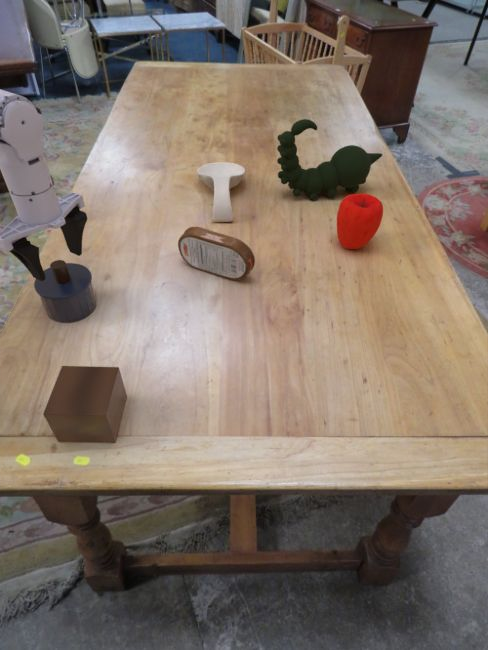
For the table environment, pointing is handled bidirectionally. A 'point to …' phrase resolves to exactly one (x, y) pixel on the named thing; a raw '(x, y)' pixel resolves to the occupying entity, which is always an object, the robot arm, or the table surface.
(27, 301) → the table surface
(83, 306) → the grey short cylinder
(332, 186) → the toy figurine
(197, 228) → the tin
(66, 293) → the tin lid
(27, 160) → the robot arm
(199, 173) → the spoon rest
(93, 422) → the riser
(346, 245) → the apple
